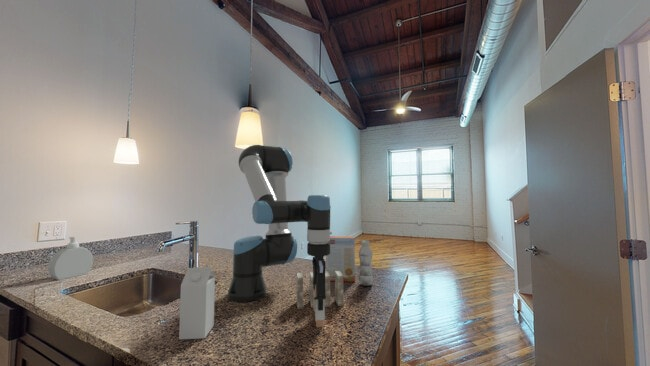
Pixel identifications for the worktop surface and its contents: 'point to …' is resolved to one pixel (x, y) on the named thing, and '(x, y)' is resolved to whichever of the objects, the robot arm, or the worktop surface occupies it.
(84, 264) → the soap bottle
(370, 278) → the plastic bottle
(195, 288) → the milk carton
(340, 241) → the cracker box
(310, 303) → the domino
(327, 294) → the domino
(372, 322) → the worktop surface
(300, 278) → the domino
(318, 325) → the domino end
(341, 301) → the domino
